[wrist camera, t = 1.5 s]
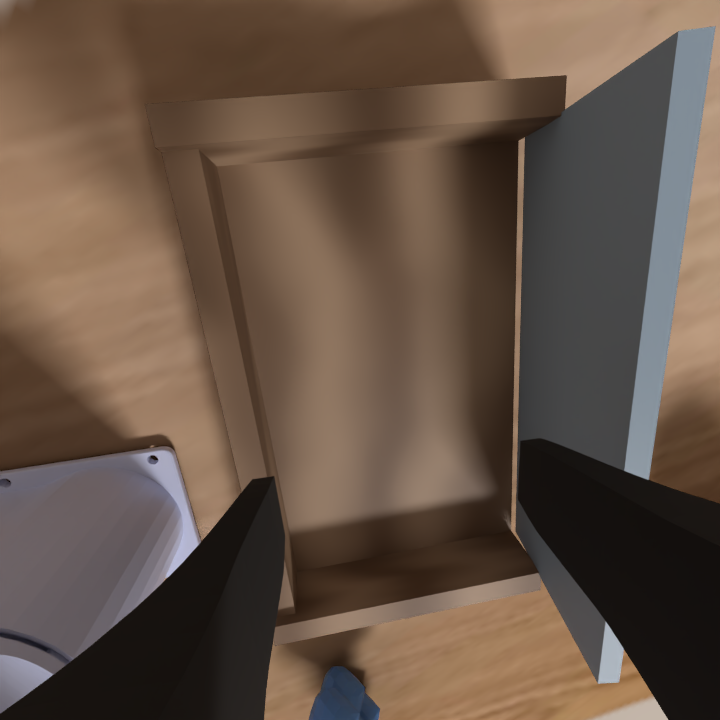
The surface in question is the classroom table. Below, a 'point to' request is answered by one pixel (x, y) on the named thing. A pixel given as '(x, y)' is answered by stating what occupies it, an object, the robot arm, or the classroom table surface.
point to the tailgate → (605, 283)
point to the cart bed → (365, 330)
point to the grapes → (343, 698)
